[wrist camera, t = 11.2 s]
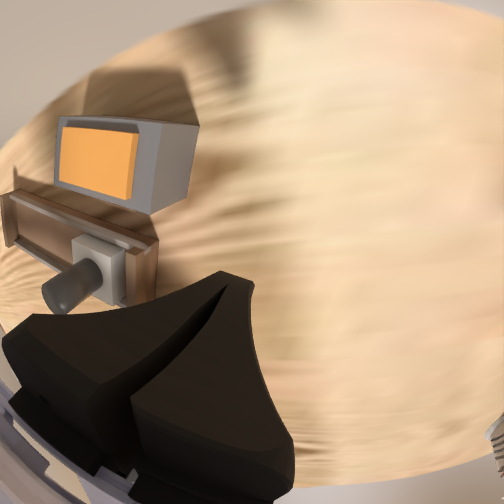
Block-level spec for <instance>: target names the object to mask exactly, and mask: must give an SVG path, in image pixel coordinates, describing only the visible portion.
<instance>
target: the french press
mask: <svg viewBox="0 0 504 504" xmlns="http://www.w3.org/2000/svg"><path fill="white" fill-rule="evenodd" d="M484 438H485V439H487V440H491V442H492V443H491V444H492V447H493V452H494V453H495V454H494V456H495V459H496V465H497V470H498V472H502V471H504V415H503V416H502V417H500V418H499V419H498V420H497V421H496V422H495V423H494V424H492V425H491V426H490V428H489V429H488V430H487V431H486V432H485V435H484ZM501 478H504V473H503V474H502V475H501ZM501 499H504V495H503V496H502V498H501Z"/></svg>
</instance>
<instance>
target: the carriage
mask: <svg viewBox="0 0 504 504" xmlns="http://www.w3.org/2000/svg"><path fill="white" fill-rule="evenodd" d="M72 254H73V265H72V266H70V267H69V268H67V269H66V270H64V271H63V272H61V273H59V274H58V275H56V276H55V277H53V278H52V279H50V280H49V281H47V282H46V283H44V284H43V285H42V295H43V298H44V300H45V302H46V304H47V306H48V307H49V309H50V310H51V311H52V312H53V313H54V314H62V315H66V314H67V313H69V312H70V311H71V310H72V309H74V308H75V307H76V306H77V305H79V304H80V303H81V302H82V301H84V300H85V299H86V298H87V297H89V296H90V295H93V296H94V297H96V298H98V299H100V300H102V301H104V302H106V303H108V304H109V305H111V306H114V305H115V304H116V303H118V302H119V301H120V300H121V299H122V298H123V297H124V296H125V248H122V247H120V246H117V245H115V244H112V243H110V242H108V241H105V240H103V239H100V238H98V237H95V236H93V235H91V234H88V233H84V234H82V235H80V236H78V237H76V238H74V239H72Z"/></svg>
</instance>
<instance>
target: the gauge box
mask: <svg viewBox="0 0 504 504" xmlns="http://www.w3.org/2000/svg"><path fill="white" fill-rule="evenodd" d="M63 127H83V128H95V129H106V130H115V131H123V132H131V133H139V138H138V145H137V152H136V159H135V167H134V175H133V185H132V196H131V198H130V199H127V200H124V199H120V198H117V197H114V196H110V195H107V194H103V193H100V192H97V191H93V190H90V189H87V188H83V187H80V186H76V185H73V184H69V183H66V182H63V181H59V169H60V152H61V140H62V131H63ZM199 127H200V126H195V125H189V124H183V123H176V122H169V121H161V120H153V119H144V118H133V117H121V116H107V115H81V116H59V121H58V129H57V139H56V151H55V169H54V185H55V186H58V187H61V188H65V189H68V190H71V191H74V192H78V193H81V194H84V195H87V196H91V197H94V198H97V199H100V200H103V201H107V202H110V203H113V204H116V205H120V206H123V207H126V208H129V209H132V210H136V211H139V212H142V213H145V214H148V215H151V214H153V213H155V212H157V211H159V210H161V209H163V208H165V207H167V206H170V205H172V204H174V203H176V202H178V201H180V200H182V199H185V198H186V197H187V191H188V185H189V179H190V173H191V167H192V162H193V157H194V151H195V146H196V141H197V136H198V132H199Z"/></svg>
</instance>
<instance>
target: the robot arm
mask: <svg viewBox="0 0 504 504" xmlns="http://www.w3.org/2000/svg"><path fill="white" fill-rule="evenodd" d="M254 286H255V285H254V283H253V281H250V280H247V279H244V278H241V277H238V276H235V275H232V274H229V273H226V272H223V271H218V272H216V273H214V274H212V275H210V276H208V277H206V278H204V279H202V280H200V281H198V282H196V283H194V284H192V285H189V286H187V287H185V288H183V289H181V290H178V291H176V292H173V293H171V294H168V295H166V296H163V297H161V298H158V299H155V300H152V301H148V302H145V303H141V304H138V305H134V306H130V307H125V308H120V309H114V310H109V311H103V312H95V313H85V314H66V315H62V314H34V313H33V314H32V315H30V316H29V317H28V318H26V319H25V320H24V321H23V322H21V323H20V324H19V325H18V326H16V327H15V328H14V329H13V330H11V331H10V332H9V333H8V334H6V335H5V336H4V337H3V338H2V348H3V352H4V354H5V356H6V358H7V360H8V362H9V364H10V366H11V368H12V370H13V372H14V374H15V375H16V377H17V379H18V381H19V382H20V384H21V386H22V388H20V390H18V392H16V394H14V393H13V392H12V391H11V390H10V389H9V388H8V387H7V386H6V385H5V384H4V382H3V381H2V380H1V379H0V504H86V503H84V502H83V501H81V500H80V499H78V498H77V497H75V496H74V495H73V494H71V493H70V492H68V491H67V490H66V489H64V488H63V487H62V486H60V485H59V484H58V483H57V482H55V481H54V480H53V479H51V478H50V477H49V476H48V475H46V474H45V470H46V469H47V468H48V466H49V465H50V464H49V461H47V460H46V459H45V458H44V457H43V456H42V455H41V454H39V452H38V451H37V450H36V449H35V448H33V447H32V446H31V445H30V444H29V442H28V441H27V440H26V439H25V438H24V437H23V436H22V435H21V434H20V433H19V432H18V431H17V430H16V429H15V428H14V427H13V419H14V420H15V421H16V422H17V423H18V424H19V425H20V426H21V427H22V428H23V429H24V430H25V431H26V432H27V433H28V434H29V435H30V436H31V437H32V438H33V439H34V440H35V441H36V442H38V443H39V444H40V445H41V446H42V447H43V448H44V449H46V450H47V451H48V452H49V453H50V454H51V455H53V456H54V457H55V458H56V459H58V460H59V461H60V462H62V463H63V464H64V465H65V466H67V467H68V468H69V469H71V470H72V471H73V472H75V473H76V474H77V476H78V478H79V480H80V482H81V484H82V486H83V488H84V490H85V492H86V494H87V496H88V498H89V500H90V502H91V504H273V502H274V500H276V499H278V498H279V497H281V496H283V495H285V494H286V493H288V492H289V491H290V490H291V489H292V488H293V483H294V476H295V454H294V444H293V439H292V437H291V436H290V434H289V432H288V431H287V429H286V427H285V425H284V423H283V422H282V420H281V418H280V416H279V414H278V412H277V410H276V408H275V406H274V403H273V401H272V399H271V397H270V394H269V392H268V389H267V386H266V384H265V381H264V378H263V376H262V373H261V370H260V366H259V363H258V359H257V355H256V351H255V346H254V341H253V334H252V326H251V297H252V293H253V290H254Z"/></svg>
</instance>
